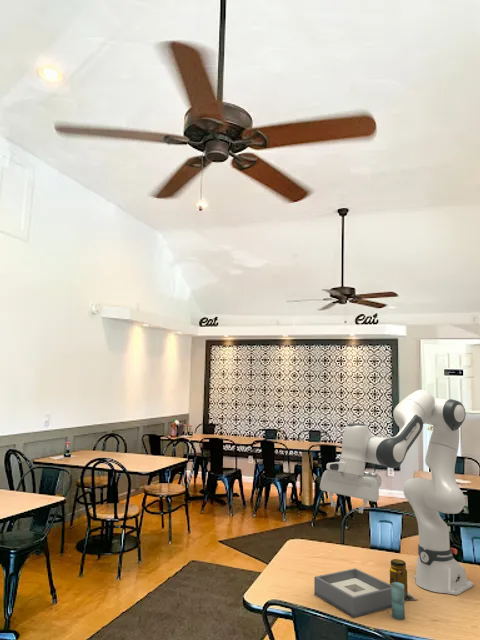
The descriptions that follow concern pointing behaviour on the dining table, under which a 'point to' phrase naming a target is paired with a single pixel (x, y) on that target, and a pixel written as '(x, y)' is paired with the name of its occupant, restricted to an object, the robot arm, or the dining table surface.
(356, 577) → the socket box
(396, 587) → the peg
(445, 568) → the robot arm
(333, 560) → the dining table surface
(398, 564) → the condiment
